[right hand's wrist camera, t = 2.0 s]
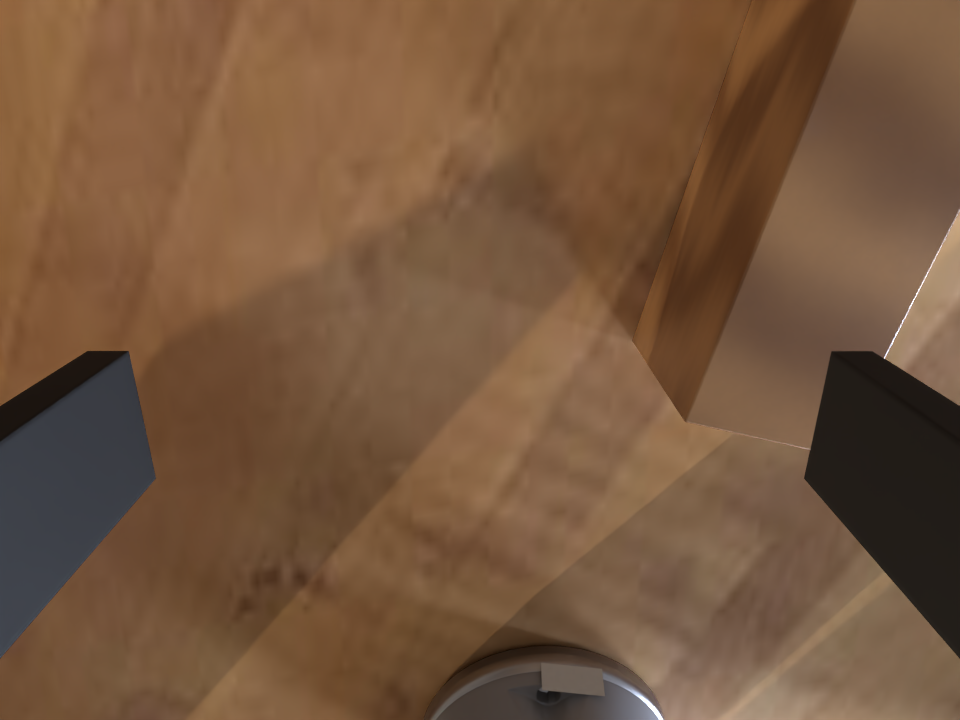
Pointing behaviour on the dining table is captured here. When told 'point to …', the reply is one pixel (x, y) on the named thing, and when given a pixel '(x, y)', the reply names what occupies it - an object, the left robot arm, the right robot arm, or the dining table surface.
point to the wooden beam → (807, 209)
